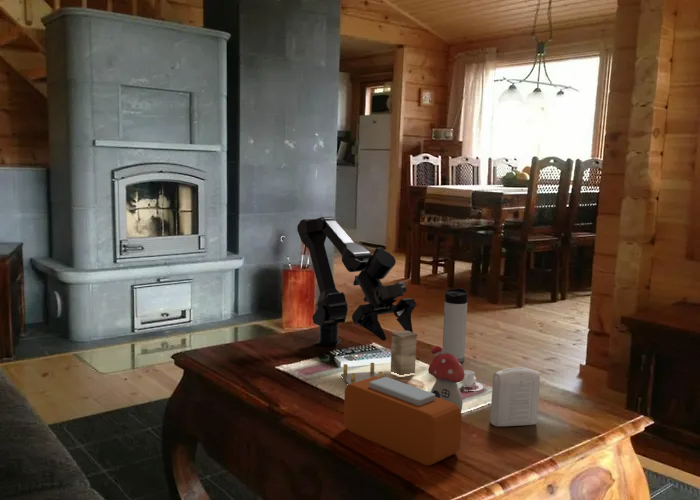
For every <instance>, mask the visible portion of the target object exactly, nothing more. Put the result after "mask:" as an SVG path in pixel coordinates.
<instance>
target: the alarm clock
mask: <svg viewBox="0 0 700 500" xmlns="http://www.w3.org/2000/svg"><path fill="white" fill-rule="evenodd" d="M343 402H344V406H343V408H344V409H343V423H344V425H345V428H346V429H347V430H348V431H349V432H351V433H353V434H356V435H358V436H360V437H361V438H364V439H366V440H367V441H368V440H369V441H371V442H372V443H376V444H377V445H380V446H382V447H384V448H386V449H389V450H391V451H392V452H395V453H398V454H400V455H402V456H404V457H406V458H408V459H411V460H414V461H415V462H418V463H420V464H422V465H425V466H432V465H435V464H436V463H438V462H440V461H443V460H444V459H447V458H449V457H451V456H453V455H455V454H457V453H458V452H459V450H460V448H461V439H462V438H461V434H462V418H463V417H462V416H463V415H462V410H460V408H459V407H458V406H457V405H456V404H454V403H452V402H449V401H446V400H443V399H441V398H438V397H435V394H434V393H431V391H427V390H425V389H421V388H419V387H416V386H414V385H410V384H407V383H404V382H402V381H399V380H396V379H392V378H390V377H387V376H383V378H381V377H377V376H375V377H371V378H368V379H365V380H362V381H358V382H355V383H352V384H349V385H347V384H346V387H345V389H344V401H343Z"/></svg>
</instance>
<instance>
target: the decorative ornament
mask: <svg viewBox="0 0 700 500" xmlns="http://www.w3.org/2000/svg"><path fill="white" fill-rule="evenodd" d="M442 349H443V347H441V346H439V345H436V346H433V347H432V348H431V351H430V353H431V354H433V355H434V358H433V360H432V361H431V362H430V363H429V366H428V374H429V375H430V376H433V377H434V378H435V382H434V384H433V386H432V388H431V390H430V392H431V393H434V394H435V397H438V398H441V399H443V400H446V401H449V402H452V403H454V404H456V405H457V406H458V407H459V408H460V410H461V411H462V410H463V404H464V403H463V397H462V394H461V393H462V392H461V390H459V386H458V384H459V383H458V382H461V381H462V380H463V379H464V370H465V369H464V368H463V365H462V364H461V363H462V362H459V361H458V359H457V358H456V357H454V356H453V355H451V354H448V353H444V354H443V353H442ZM461 383H462V382H461Z"/></svg>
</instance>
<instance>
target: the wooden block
mask: <svg viewBox="0 0 700 500" xmlns="http://www.w3.org/2000/svg"><path fill="white" fill-rule="evenodd" d="M417 337H418V333H415V332H414V331H413V332H410V331H407V330H406V331H405V330H402V331H396V332H391V348H390V349H391V350H390V373H391V372H394V373H397V374H399V375H404V374H410V373H415V374H416V359H417Z"/></svg>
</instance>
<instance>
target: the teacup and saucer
mask: <svg viewBox="0 0 700 500" xmlns="http://www.w3.org/2000/svg"><path fill="white" fill-rule="evenodd" d="M463 370H464V379H463V380H462V382H461V383H462V386H463V387H464V386H465V387H464V388H466V387H470V388H472V387H473V386H474V385H476V386H477V388H476V390H475V389H464V391H463V392H468V390H469V391H474V392H479V391H483V389H484V385H483V384H482V383H479V382H478V381H477V377H476V376H475V371H473V370H470V369H463ZM473 383H474V384H473Z"/></svg>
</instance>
